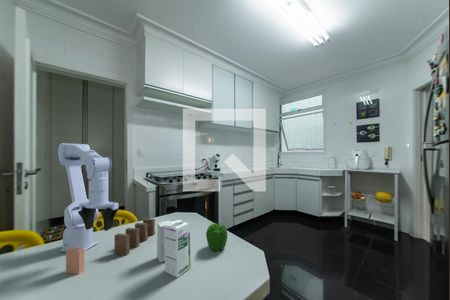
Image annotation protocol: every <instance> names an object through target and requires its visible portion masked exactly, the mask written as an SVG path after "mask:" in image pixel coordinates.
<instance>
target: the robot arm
mask: <svg viewBox="0 0 450 300" xmlns="http://www.w3.org/2000/svg"><path fill="white" fill-rule="evenodd" d="M57 148H58V149H57V155H58V161H59V164H60V165H62V166H63V167H65V170H66V174H67V175H66V176H67V180H68V186H69V192H70V198H71V203H70V204H68V205H67V206H66V207H65V209H64V211H63V213H64V216H63V217H64V218H63V220H64V221H63V222H64V226H65V229H64V230H63V232H62V233H63V234H62V248H61V249H59V251H60V252H66V250H67V249H69V248H71V247H74V248H84V252H86V250H88V249H90V248H92V247H94V246H96V245H97V244H98V243H99V241H93V239H94V238H93V237H94V236H93V235H94V225H95V223H96V221H97V219H98V217H99V209H100V210H101V209H103V210H101V211H100V214H101V216H102V220H103V230H104V231H105V232H107V231H109V230H111V229H112V225H113V221H114V219H115V217H116V215H117V213H118V211H119V202H114V201H109V173H110V172H111V171H112V168H113V163H112V160H111V158H110V157H108V156H107V157H103V156H102V155H100V154H99V153H98V152H96V151H95V150H94V149H91V146H90V145H89V144H88V143H64V142H61V143H60V144H59V145H58V147H57ZM83 165H84V166H85V170H86V173H87V175H86V177H87V179H88V196H87V193H86V188H85V182H84V178H83V173H82V166H83ZM87 197H88V198H87Z"/></svg>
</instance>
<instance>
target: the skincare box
mask: <svg viewBox="0 0 450 300" xmlns="http://www.w3.org/2000/svg"><path fill="white" fill-rule="evenodd" d="M175 221H176V220H173V219H172V220H165V221H162V222H161V221H160V222H157V229H156V230H157V231H156V233H157V234H156V239H157V241H156V244H157V245H156V258H157V260H158V262H159V263H165V238H164V226H165V225H168V224H170V223H172V222H175Z"/></svg>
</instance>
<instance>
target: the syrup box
mask: <svg viewBox="0 0 450 300" xmlns="http://www.w3.org/2000/svg"><path fill="white" fill-rule="evenodd" d="M174 221H175V222H172V223H170V224H168V225H165V226H164V238H165V261H164V271H165V272H166V273H167V274H169V275H170V276H173V277H175V278H179V277H180V276H182V275H183V274H184V273H185V272H186V271H187V270H189V269H191V267H192V264H191V263H192V262H191V261H192V260H191V232H190V231H191V227H190V226H191V225H190V224H191V223H190V222H189V221H187V220H181V219H177V220H174Z"/></svg>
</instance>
